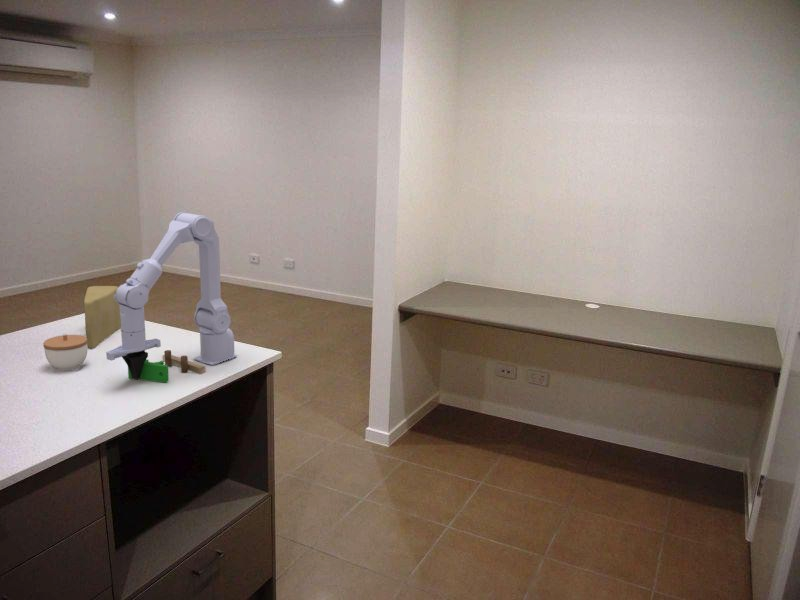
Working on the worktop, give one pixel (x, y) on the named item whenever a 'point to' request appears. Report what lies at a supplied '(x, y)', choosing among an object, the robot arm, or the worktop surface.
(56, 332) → the worktop surface
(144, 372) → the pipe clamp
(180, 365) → the peg rack
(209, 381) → the worktop surface
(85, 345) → the lidded jar
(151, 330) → the worktop surface
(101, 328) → the cheese
